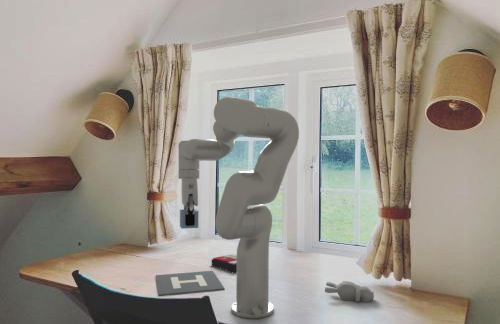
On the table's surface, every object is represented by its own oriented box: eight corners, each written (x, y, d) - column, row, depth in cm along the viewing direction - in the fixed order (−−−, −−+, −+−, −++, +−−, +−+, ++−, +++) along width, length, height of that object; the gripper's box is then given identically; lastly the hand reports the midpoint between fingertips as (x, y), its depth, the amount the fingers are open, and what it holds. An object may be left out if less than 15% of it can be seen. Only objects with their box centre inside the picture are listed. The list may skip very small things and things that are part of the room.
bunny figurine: (374, 293, 114) (325, 283, 119) (372, 310, 115) (323, 299, 119) (373, 284, 124) (327, 274, 128) (371, 299, 124) (325, 289, 128)
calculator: (230, 253, 167) (253, 257, 156) (231, 263, 167) (254, 268, 156) (211, 257, 160) (233, 262, 149) (211, 267, 160) (234, 273, 149)
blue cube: (198, 227, 135) (198, 211, 135) (181, 228, 133) (181, 211, 133) (196, 225, 140) (196, 209, 140) (179, 225, 139) (179, 209, 139)
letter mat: (224, 289, 129) (224, 288, 129) (158, 296, 123) (158, 294, 123) (212, 271, 150) (212, 270, 150) (156, 276, 144) (156, 275, 144)
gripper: (203, 175, 130) (202, 227, 130) (195, 173, 146) (195, 220, 146) (181, 175, 127) (180, 228, 127) (176, 174, 144) (176, 221, 144)
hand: (188, 223), depth 137 cm, fingers closed on blue cube, 6 cm apart
